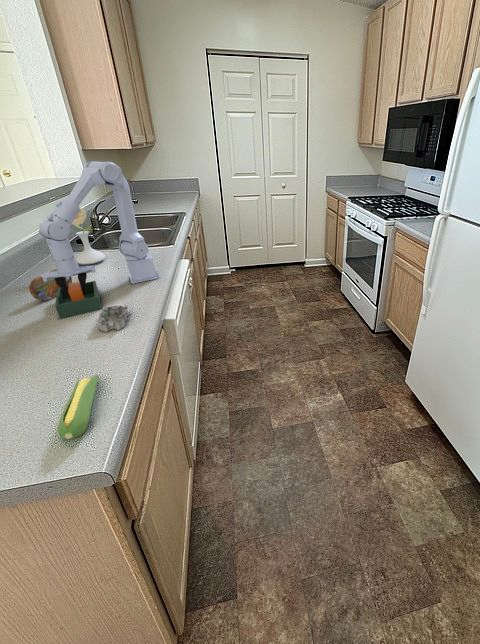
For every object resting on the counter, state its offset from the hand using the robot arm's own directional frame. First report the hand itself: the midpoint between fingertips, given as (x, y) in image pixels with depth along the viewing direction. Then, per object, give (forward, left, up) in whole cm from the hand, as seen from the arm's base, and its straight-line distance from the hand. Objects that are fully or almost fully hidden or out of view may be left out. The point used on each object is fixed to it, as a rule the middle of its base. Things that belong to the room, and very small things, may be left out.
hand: (77, 295), depth 112 cm
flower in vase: (-5, -44, -3) cm, 44 cm away
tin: (+8, -14, -3) cm, 16 cm away
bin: (0, 0, -3) cm, 3 cm away
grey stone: (-9, +20, -3) cm, 22 cm away
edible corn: (0, +56, -3) cm, 56 cm away
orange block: (0, 0, -1) cm, 1 cm away
